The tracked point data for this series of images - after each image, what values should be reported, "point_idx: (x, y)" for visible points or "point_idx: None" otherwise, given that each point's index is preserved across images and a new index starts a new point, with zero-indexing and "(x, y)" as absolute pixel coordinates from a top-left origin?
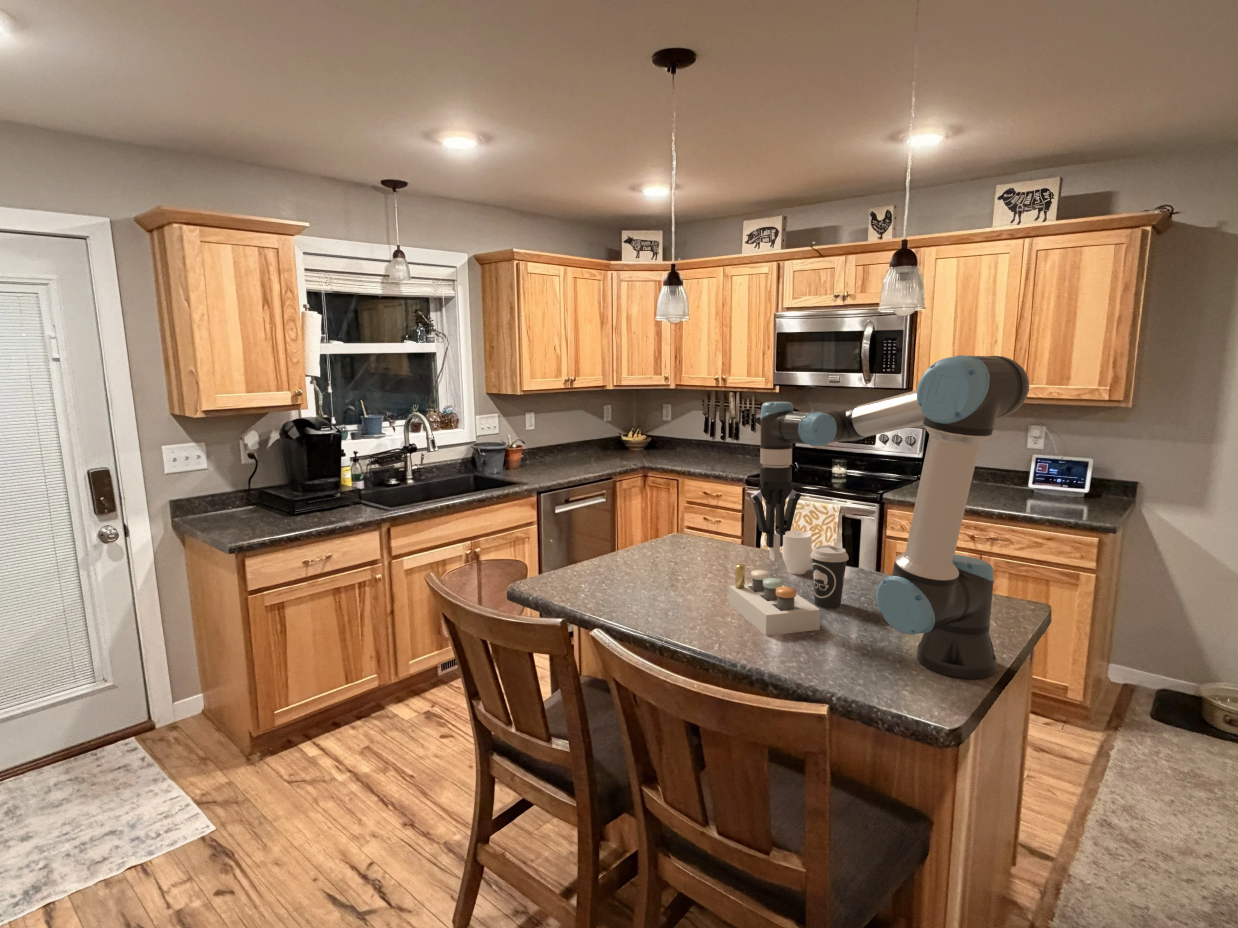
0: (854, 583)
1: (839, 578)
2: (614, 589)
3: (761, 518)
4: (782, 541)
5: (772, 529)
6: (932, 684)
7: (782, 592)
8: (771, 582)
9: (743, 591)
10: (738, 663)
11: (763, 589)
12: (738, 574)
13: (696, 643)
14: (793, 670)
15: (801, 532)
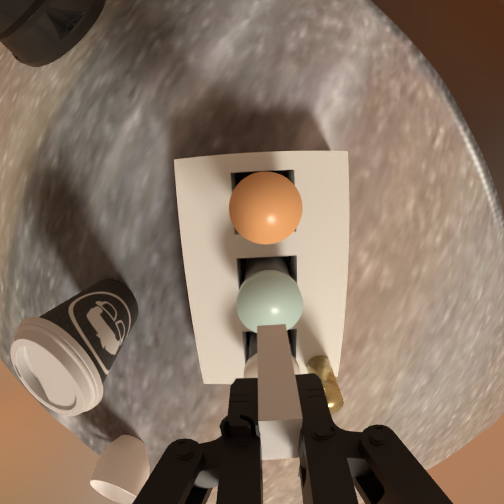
0: None
1: (62, 303)
2: (450, 410)
3: (440, 498)
4: (233, 398)
5: (325, 452)
6: None
7: (291, 183)
8: (281, 293)
9: (324, 338)
10: (421, 60)
11: None
12: (335, 381)
13: (463, 164)
14: (337, 4)
15: (106, 494)
